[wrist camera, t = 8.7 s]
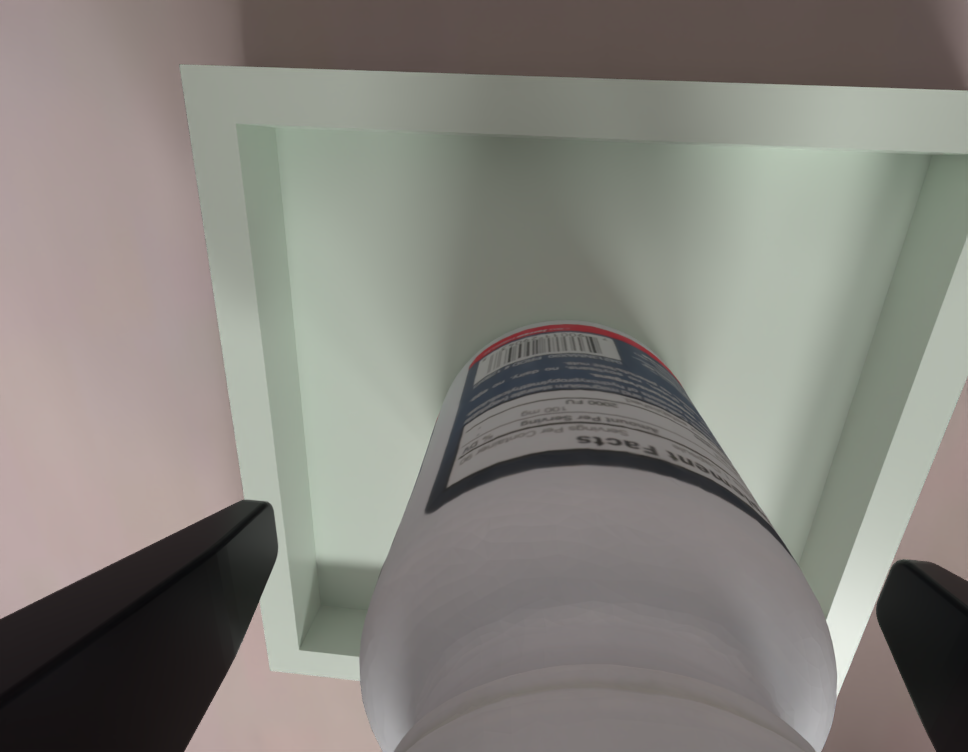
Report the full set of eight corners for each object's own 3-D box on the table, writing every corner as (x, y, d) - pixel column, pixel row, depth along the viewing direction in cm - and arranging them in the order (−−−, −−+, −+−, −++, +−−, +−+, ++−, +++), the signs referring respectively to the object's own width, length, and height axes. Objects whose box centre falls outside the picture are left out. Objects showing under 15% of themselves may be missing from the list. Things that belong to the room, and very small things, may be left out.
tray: (785, 659, 14) (822, 733, 12) (303, 608, 15) (270, 670, 13) (974, 106, 9) (1082, 94, 7) (244, 80, 10) (179, 64, 8)
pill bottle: (590, 569, 13) (681, 1273, 5) (399, 461, 12) (128, 1062, 4) (743, 400, 11) (1332, 1097, 3) (526, 262, 10) (486, 655, 2)
